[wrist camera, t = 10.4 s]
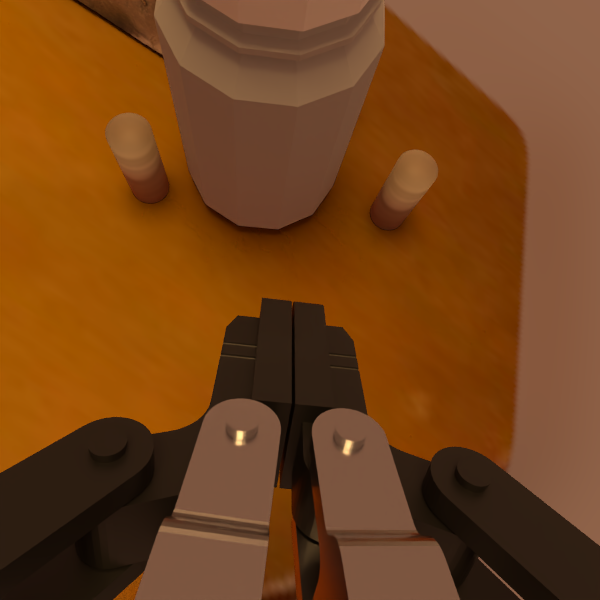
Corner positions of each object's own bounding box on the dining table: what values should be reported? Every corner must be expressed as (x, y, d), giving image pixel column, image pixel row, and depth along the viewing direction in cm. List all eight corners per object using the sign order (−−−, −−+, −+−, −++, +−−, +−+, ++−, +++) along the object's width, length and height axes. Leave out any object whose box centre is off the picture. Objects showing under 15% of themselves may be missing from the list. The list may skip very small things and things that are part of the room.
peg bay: (403, 231, 32) (438, 190, 26) (128, 201, 31) (101, 149, 25) (405, 85, 35) (436, 19, 30) (156, 50, 34) (137, -27, 28)
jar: (347, 224, 32) (468, -12, 15) (202, 247, 30) (144, 13, 13) (316, 101, 34) (388, -231, 17) (179, 116, 33) (105, -232, 15)
